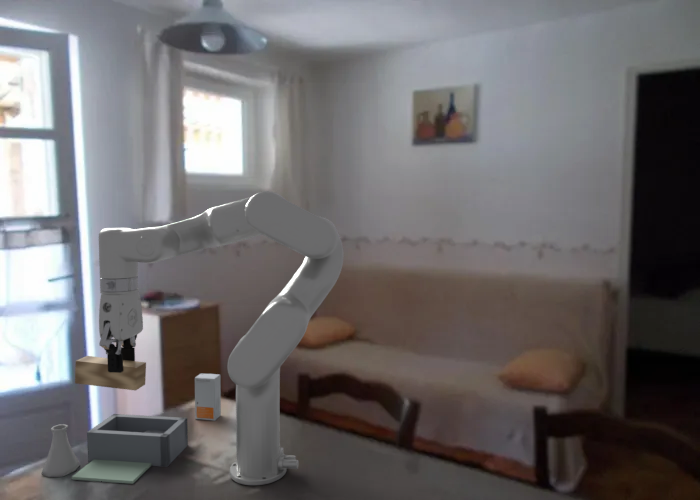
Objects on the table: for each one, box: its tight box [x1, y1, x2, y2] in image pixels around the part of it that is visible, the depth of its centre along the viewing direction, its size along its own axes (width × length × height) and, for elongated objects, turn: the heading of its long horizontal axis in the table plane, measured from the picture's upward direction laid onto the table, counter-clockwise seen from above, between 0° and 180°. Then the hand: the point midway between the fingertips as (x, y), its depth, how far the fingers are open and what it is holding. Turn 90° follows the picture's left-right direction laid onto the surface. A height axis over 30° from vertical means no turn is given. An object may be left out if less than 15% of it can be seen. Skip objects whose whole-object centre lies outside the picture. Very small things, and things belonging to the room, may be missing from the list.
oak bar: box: [74, 355, 147, 391], centre depth 116 cm, size 14×4×5 cm, turn 83°
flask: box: [41, 423, 81, 478], centre depth 118 cm, size 7×7×10 cm
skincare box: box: [194, 373, 222, 422], centre depth 148 cm, size 6×4×12 cm
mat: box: [71, 459, 152, 485], centre depth 118 cm, size 14×8×1 cm, turn 83°
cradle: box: [86, 413, 189, 468], centre depth 127 cm, size 19×11×7 cm, turn 83°
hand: (121, 367), depth 116 cm, fingers closed on oak bar, 4 cm apart
